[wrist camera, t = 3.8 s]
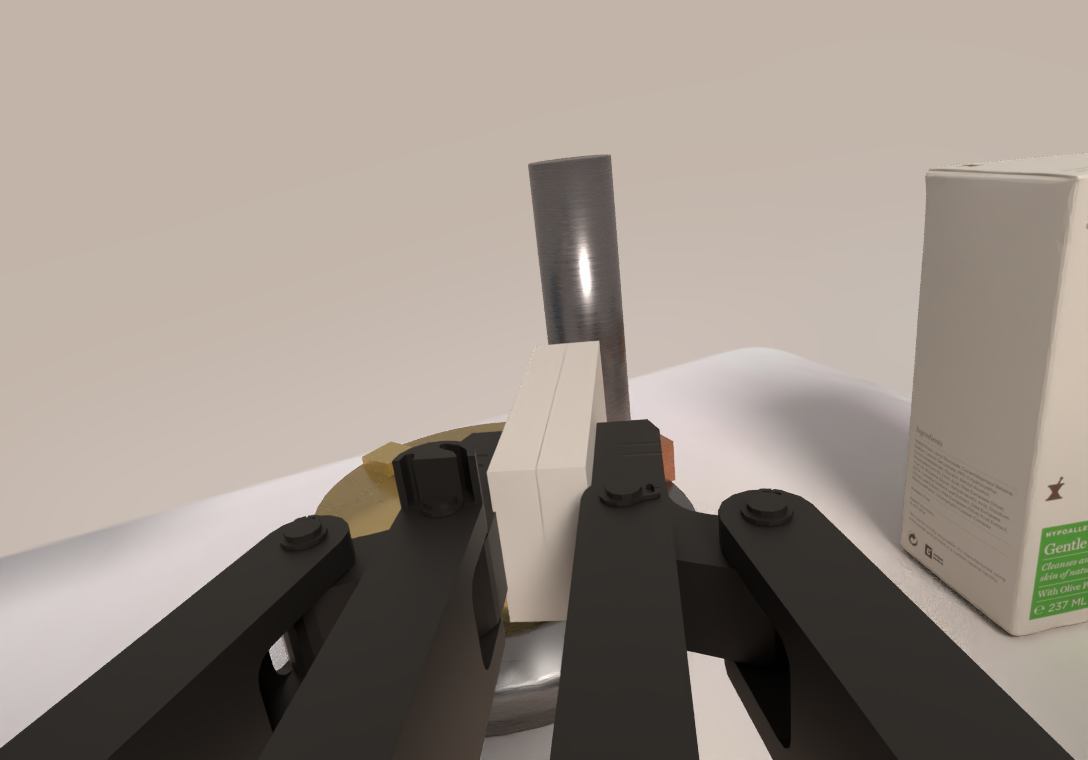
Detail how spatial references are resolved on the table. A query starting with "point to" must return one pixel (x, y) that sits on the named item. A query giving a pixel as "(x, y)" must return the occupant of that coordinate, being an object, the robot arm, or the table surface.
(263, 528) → the table surface
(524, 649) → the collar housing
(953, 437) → the skincare box
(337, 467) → the table surface
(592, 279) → the brass disc with post
